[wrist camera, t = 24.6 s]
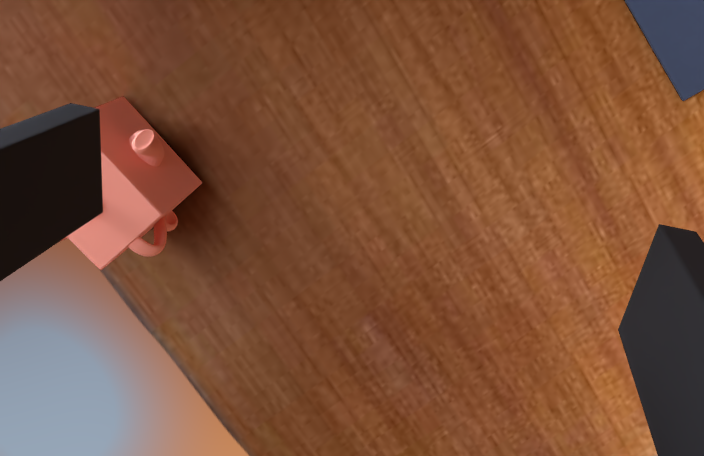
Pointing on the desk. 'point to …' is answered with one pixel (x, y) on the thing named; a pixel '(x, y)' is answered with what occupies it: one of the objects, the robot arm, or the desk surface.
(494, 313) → the desk surface
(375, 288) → the desk surface
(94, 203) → the robot arm
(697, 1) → the notebook
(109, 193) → the teapot
